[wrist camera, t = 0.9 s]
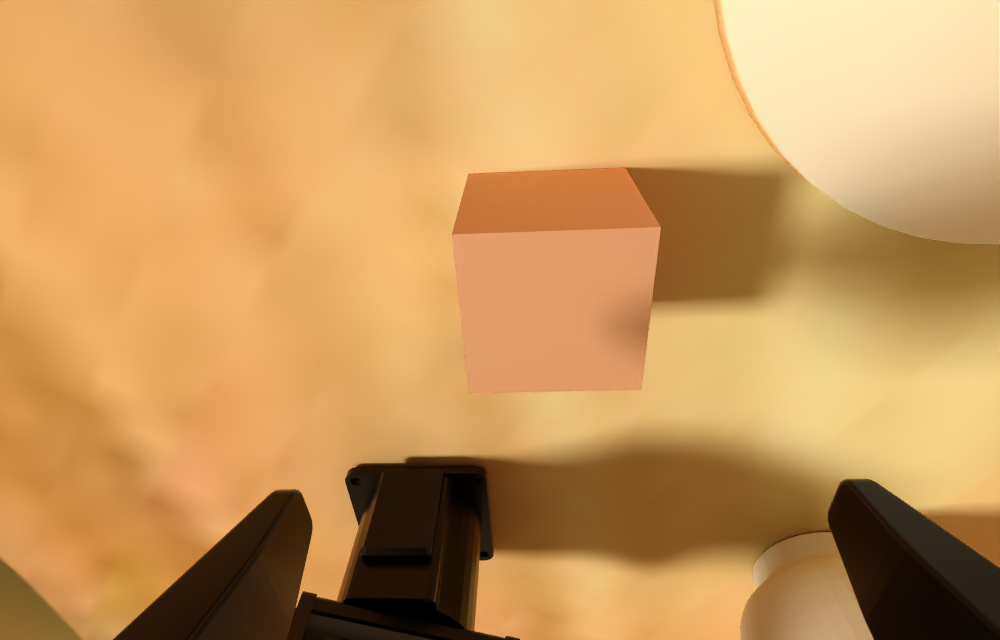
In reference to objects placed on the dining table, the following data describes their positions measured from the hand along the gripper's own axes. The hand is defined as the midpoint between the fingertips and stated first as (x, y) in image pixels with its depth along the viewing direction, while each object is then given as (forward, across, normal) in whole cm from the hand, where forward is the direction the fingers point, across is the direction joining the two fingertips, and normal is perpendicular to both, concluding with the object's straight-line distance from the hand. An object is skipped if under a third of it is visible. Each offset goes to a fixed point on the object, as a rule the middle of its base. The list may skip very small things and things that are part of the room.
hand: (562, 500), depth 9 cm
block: (+11, 0, 0) cm, 11 cm away
